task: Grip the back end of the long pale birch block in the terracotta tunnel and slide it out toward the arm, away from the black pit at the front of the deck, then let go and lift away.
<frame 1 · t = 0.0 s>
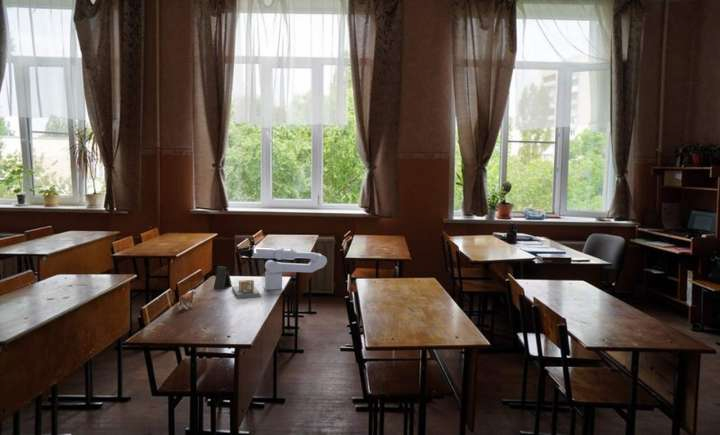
hand: (237, 251, 322), 22 cm above the table, tool horizontal, fingers open, 7 cm apart
bull figurine: (187, 308, 285), on the table
phone stand: (222, 287, 331), on the table
block: (245, 289, 318), point 2 cm above the table, touching deck
tunnel: (246, 294, 316), resting on deck
deck: (245, 293, 317), on the table
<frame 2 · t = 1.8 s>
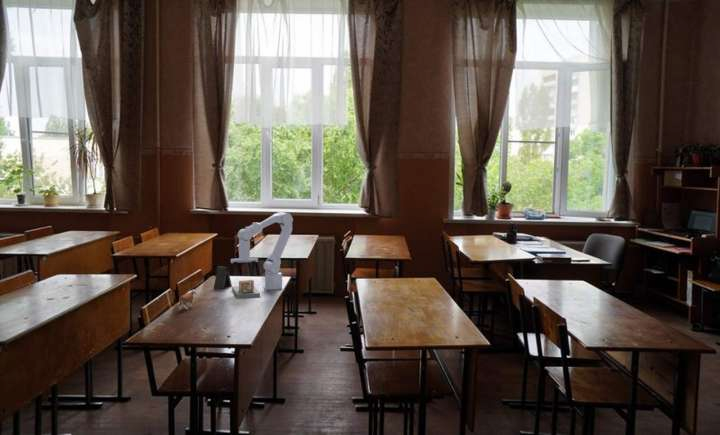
hand: (244, 275, 321), 9 cm above the table, tool pointing down, fingers open, 7 cm apart
nothing on the table moved.
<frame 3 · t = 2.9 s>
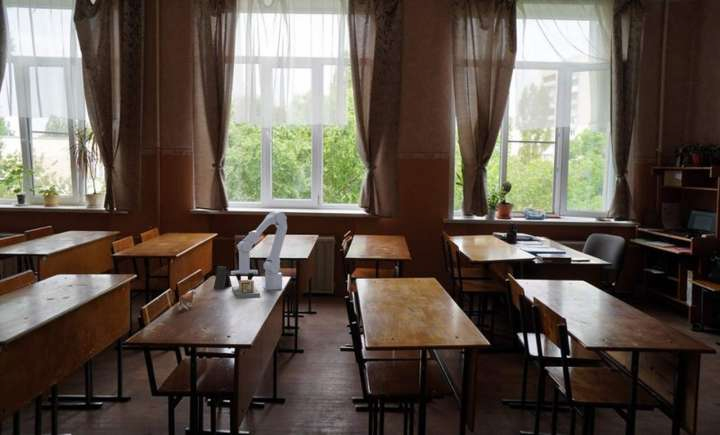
hand: (244, 287, 322), 2 cm above the table, tool pointing down, fingers closed on block, 4 cm apart
block: (245, 289, 318), point 2 cm above the table, touching deck, gripper
everything else where it was.
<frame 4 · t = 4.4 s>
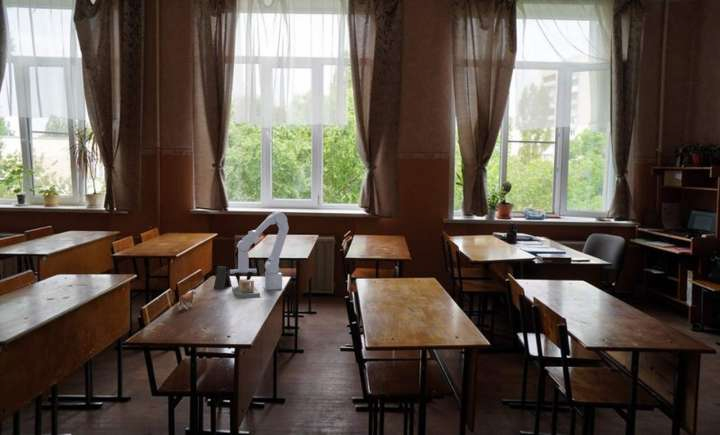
hand: (243, 285, 325), 2 cm above the table, tool pointing down, fingers closed on block, 4 cm apart
block: (244, 288, 321), point 2 cm above the table, touching gripper
everything else where it was.
when the fingers open (2 cm above the table, at t = 6.0 s): block stays where it is, resting on deck.
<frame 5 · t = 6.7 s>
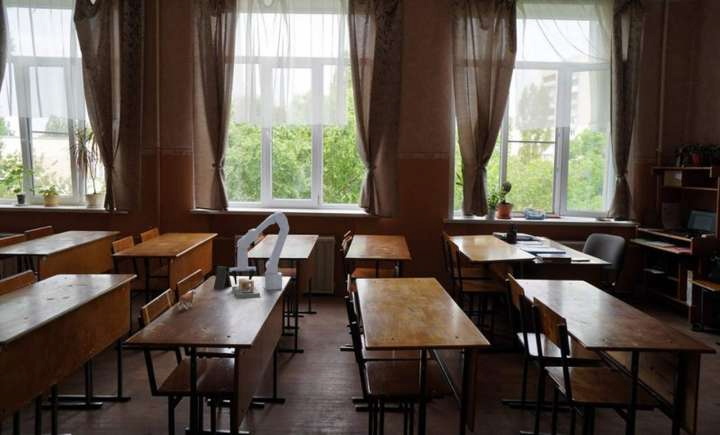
hand: (242, 283, 327), 3 cm above the table, tool pointing down, fingers open, 7 cm apart
block: (244, 287, 323), point 2 cm above the table, touching deck
everything else where it was.
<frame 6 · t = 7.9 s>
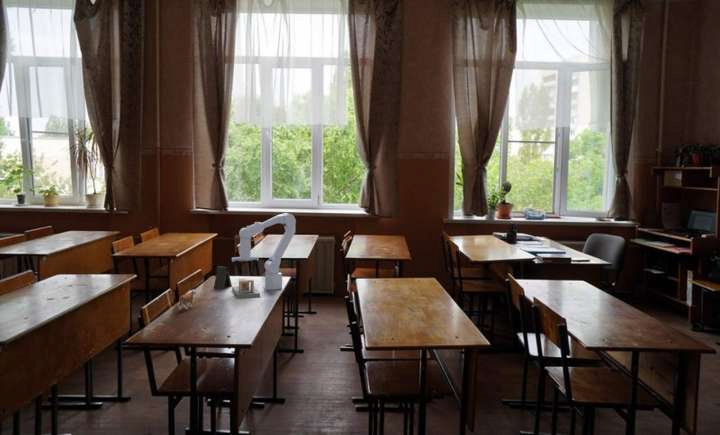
hand: (245, 273, 324), 9 cm above the table, tool pointing down, fingers open, 7 cm apart
nothing on the table moved.
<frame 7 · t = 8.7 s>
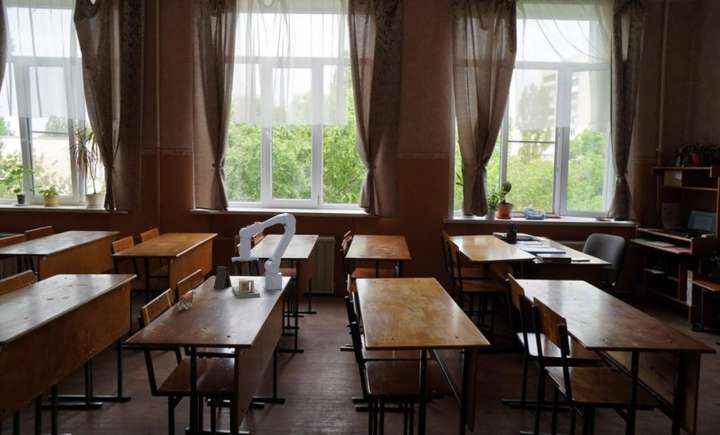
hand: (245, 273, 324), 9 cm above the table, tool pointing down, fingers open, 7 cm apart
nothing on the table moved.
at the end: block 1.4 cm from the target spot, point 2.0 cm above the table; block tilted 0°; the gripper is holding nothing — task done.
